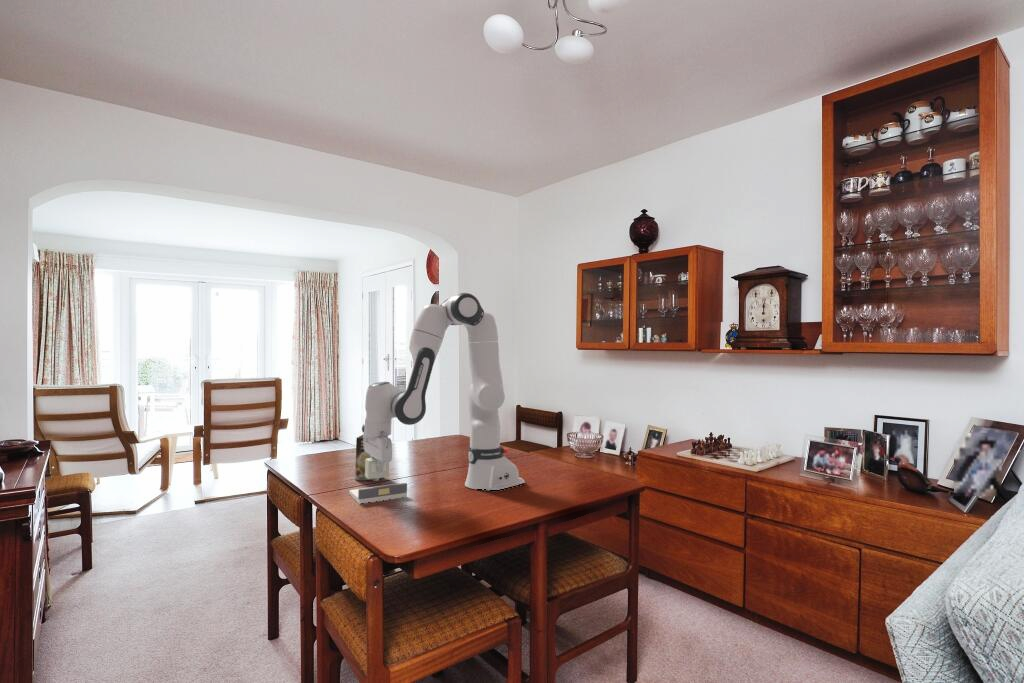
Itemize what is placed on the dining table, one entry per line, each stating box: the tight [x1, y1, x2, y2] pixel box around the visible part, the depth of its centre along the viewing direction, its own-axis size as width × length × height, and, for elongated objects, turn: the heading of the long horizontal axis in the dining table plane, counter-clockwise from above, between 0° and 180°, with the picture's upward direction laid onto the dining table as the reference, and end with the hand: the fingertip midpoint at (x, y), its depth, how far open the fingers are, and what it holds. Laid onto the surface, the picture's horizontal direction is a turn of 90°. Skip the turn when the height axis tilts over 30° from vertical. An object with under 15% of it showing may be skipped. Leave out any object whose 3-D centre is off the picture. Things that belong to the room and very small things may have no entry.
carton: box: [365, 458, 390, 479], centre depth 173 cm, size 4×7×6 cm, turn 122°
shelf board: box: [348, 482, 408, 505], centre depth 172 cm, size 16×12×4 cm
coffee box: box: [354, 434, 383, 482], centre depth 194 cm, size 9×6×16 cm
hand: (377, 470), depth 173 cm, fingers closed on carton, 4 cm apart
